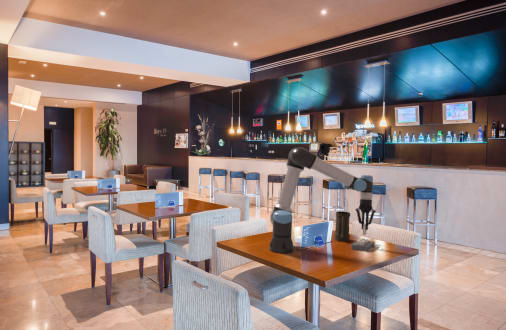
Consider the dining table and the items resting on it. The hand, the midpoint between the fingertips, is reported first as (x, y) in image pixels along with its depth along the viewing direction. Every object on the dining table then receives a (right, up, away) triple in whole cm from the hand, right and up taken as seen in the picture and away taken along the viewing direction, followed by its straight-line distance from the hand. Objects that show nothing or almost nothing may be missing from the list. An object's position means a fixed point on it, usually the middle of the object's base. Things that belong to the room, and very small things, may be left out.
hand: (364, 234), depth 231 cm
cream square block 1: (-4, -5, -7) cm, 10 cm away
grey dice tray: (-2, -8, -3) cm, 8 cm away
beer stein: (-10, -8, +15) cm, 20 cm away
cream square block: (-1, -5, -3) cm, 6 cm away
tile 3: (+1, -6, +2) cm, 7 cm away
